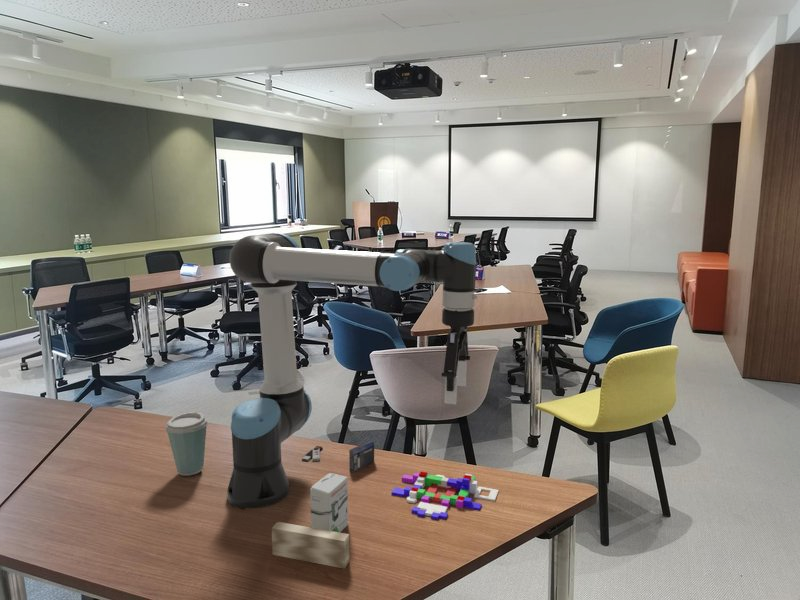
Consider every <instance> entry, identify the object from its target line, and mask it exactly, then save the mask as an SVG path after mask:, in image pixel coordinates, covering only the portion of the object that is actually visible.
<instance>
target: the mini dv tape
mask: <svg viewBox="0 0 800 600" xmlns="http://www.w3.org/2000/svg"><path fill="white" fill-rule="evenodd" d="M348 453H349V455H348V456H349V457H348V458H349V459H348V460H349V472H353V473H355V472H357V471H359V470H361V469H364V468H365V467H367V466H369V465H371V464H373V463H374V462H375V443H374V441H372V440H369V441H367V442H364V443H362V444H360V445H357V446H356V447H352V448H350V449H349V452H348Z"/></svg>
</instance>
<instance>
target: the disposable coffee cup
mask: <svg viewBox="0 0 800 600" xmlns="http://www.w3.org/2000/svg"><path fill="white" fill-rule="evenodd" d="M207 425H208V421H207V419H206V417H205V414H204V413H203V412H202V413H201V412H198V411H187V412H184V413H180V414H177V415H175V416H172V417H171V418H170V419H169V420H168V421H167V423H166V424H165V432H167V435H168V440H169V443H170V447H171V451H172V456H173V459H174V462H175V467H176V471H177V473H178V474H179V475H181V476H193V475H196V474H199V473H200V472H201V471H202V470H203V467H204V463H205V453H206V452H205V451H206V439H207V438H206V436H207Z"/></svg>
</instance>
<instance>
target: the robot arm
mask: <svg viewBox="0 0 800 600" xmlns="http://www.w3.org/2000/svg"><path fill="white" fill-rule="evenodd" d="M229 265H230V269H231V270H232V272H233V273H234V275H235V276H236V277H237V278H238V279H240V280H241V281H243V282H245V283H248V284H249V283H250V284H251V285H250V286H251V288H252V290H254V291H255V292H256V293H257V296H258V297H257V298H258V299H257V300H258V308H259V309H258V311H259V312H258V313H259V322H260V323H259V324H260V325H259V326H260V336H261V337H260V338H261V351H262V363H263V378H264V382H263V383H262V384H261V386H260V387H259V397H257V398H253V399H251V400H245V401H243V402H242V403H240V404H238V405H237V406H236V407H235V408H234V409H233V411H232V414H231V421H230V430H231V440H232V441H231V442H232V443H231V444H232V461H233V462H232V463H233V469H232V473H231V476H230V478H229V482H228V486H227V491H226V496H227V501H228V503H229V504H230V505H231V506H232V507H233V508H237V509H240V510H246V509H258V508H266V507H269V506H272V505H274V504H277V503H279V502H281V501H283V500H286V499H287V498H288V497H289V495H290V482H289V479H288V477H287V474H286V472H285V468H284V466H283V464H282V463H283V462H282V443H283V442H284V441H286V440H287V439H288V438H290V437H291V436H292V435H293V434H295V433H296V432H298V431H299V430H301V429H302V428H303V427H304V425H305V424H306V423H307V422H308V421H309V418H310V417H311V414H312V405H313V404H312V400H311V397H310V395H309V393H307V392H306V390H305V389H304V388H305V387H304V383H303V382H302V381H300V379H299V378H298V370H297V369H298V368H297V358H296V357H297V351H296V342H295V341H296V340H295V339H296V338H295V326H294V312H293V297H292V296H293V294H292V292H293V290H294V289H295V287H296V286H297V285H298V282H309V283H310V282H311V283H323V284H324V283H325V284H337V285H339V284H341V285H353V286H355V285H356V286H369V287H382V288H387V289H389V290H390V291H394V292H399V291H407V290H409V289H411V288H412V287H414V286H415V285H417V284H419V283H421V282H428V283H429V282H431V283H433V282H434V283H442V303H441V305H442V306H443V309H442V311H441V312H442V313H441V314H442V315H441V322H442V324H443V325H445V326H447V327H448V326H449V327H450V330H449V332H447V334H446V337H447V338H446V348H445V357H444V365H443V372H441V377H444V400H443V401H444V404H447V405H448V404H449V405H457V396H458V386H459V387H467V369H468V367H467V366H468V361H470V360H471V356H470V355H469V354H470V353H469V343H468V327H472V326H473V325H474V323H475V310H474V307H475V300H477V299H478V295H477V294H475V292H476V277H477V275H476V274H477V273H476V272H477V248H476V245H475V244H474V243H472V242H467V241H466V242H465V241H451V242H450V241H449V242H446V243H444V245H443V249H441V250H438V249H437V250H430V249H414V248H405V249H404V248H403V249H401V248H400V249H397V250H396V251H395V252H394V253H393V252H392V253H391V252H375V251H373V252H372V251H356V250H355V251H353V250H341V249H340V250H338V249H337V250H336V249H324V248H323V249H320V248H303V247H302V248H301V247H300V245H299V244H298V243H297V241H296V240H295V239H294V238H292V237H291V236H289V235H287V234H284V233H278V232H277V233H275V232H272V233H270V232H269V233H265V234H264V233H262V234H255V235H254V234H253V235H248V236H244V237H242V238H241V239H239V240H238V241H236V242H235V243H234V244H233V247H232V248H231V249H230V253H229Z"/></svg>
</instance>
